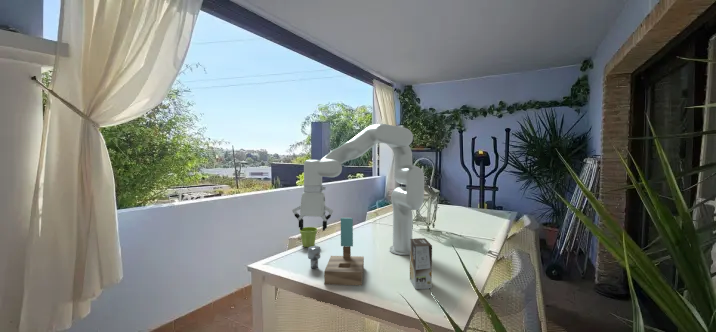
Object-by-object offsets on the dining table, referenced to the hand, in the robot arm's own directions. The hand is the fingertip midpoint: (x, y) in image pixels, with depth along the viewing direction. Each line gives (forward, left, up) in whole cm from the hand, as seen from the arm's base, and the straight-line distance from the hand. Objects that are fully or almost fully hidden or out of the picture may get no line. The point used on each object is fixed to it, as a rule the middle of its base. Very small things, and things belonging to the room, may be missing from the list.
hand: (312, 229), depth 129 cm
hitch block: (-14, +7, -17) cm, 23 cm away
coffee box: (-43, +12, -17) cm, 48 cm away
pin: (0, 0, -17) cm, 17 cm away
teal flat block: (-14, 0, -1) cm, 14 cm away
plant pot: (+9, -28, -17) cm, 34 cm away
